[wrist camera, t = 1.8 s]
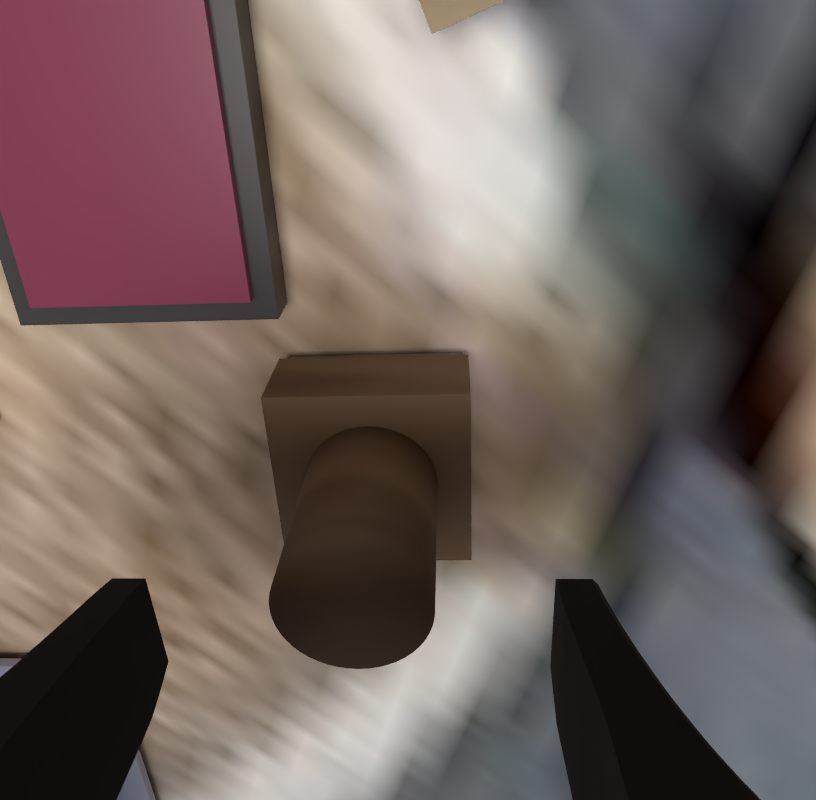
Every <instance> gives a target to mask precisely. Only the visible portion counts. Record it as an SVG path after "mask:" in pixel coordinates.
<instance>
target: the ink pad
mask: <svg viewBox="0 0 816 800" xmlns="http://www.w3.org/2000/svg"><path fill="white" fill-rule="evenodd" d="M0 260H1V263H2V267H3V270H4V273H5V276H6V279H7V282H8V286H9V289H10V292H11V295H12V298H13V302H14V305H15V308H16V311H17V314H18V318H19V321H20V324H21V325H53V324H93V323H133V322H173V321H213V320H253V319H279V317H280V315H281V313H282V311H283V309H284V308H285V306H286V304H287V300H286V292H285V284H284V277H283V269H282V261H281V253H280V246H279V238H278V230H277V223H276V215H275V207H274V200H273V192H272V184H271V177H270V169H269V161H268V154H267V146H266V138H265V131H264V123H263V115H262V108H261V100H260V92H259V85H258V77H257V69H256V62H255V54H254V46H253V39H252V31H251V23H250V15H249V8H248V0H0Z"/></svg>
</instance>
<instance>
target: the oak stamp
mask: <svg viewBox="0 0 816 800" xmlns="http://www.w3.org/2000/svg"><path fill="white" fill-rule="evenodd" d="M502 1H504V0H420V3H421V6H422V8H423V11H424V14H425V17H426V20H427V22H428V25H429V28H430V31H431V33H432V34H433V33H435V32H437V31H439V30H441V29H444V28H446V27H448V26H450V25H452V24H454V23H457V22H459V21H461V20H463V19H465V18H467V17H470V16H472V15H474V14H476V13H478V12H480V11H483V10H485V9H487V8H489V7H491V6H493V5H496V4H498V3H500V2H502Z"/></svg>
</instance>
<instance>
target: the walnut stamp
mask: <svg viewBox="0 0 816 800" xmlns="http://www.w3.org/2000/svg"><path fill="white" fill-rule="evenodd" d="M261 400H262V406H263V413H264V419H265V426H266V432H267V438H268V445H269V451H270V457H271V464H272V470H273V477H274V483H275V489H276V496H277V502H278V509H279V515H280V521H281V528H282V534H283V540H284V547H283V550H282V553H281V557H280V560H279V563H278V566H277V570H276V573H275V576H274V579H273V583H272V586H271V590H270V595H269V607H270V612H271V616H272V619H273V621H274V624H275V626H276V627H277V629H278V630H279V632H280V633H281V635H282V636H283V637H284V638H285V639H286V640H287V641H288V642H289V643H290V644H291V645H292V646H293V647H295V648H296V649H297V650H299V651H300V652H302V653H303V654H305V655H307V656H308V657H310V658H313V659H315V660H317V661H320V662H322V663H325V664H329V665H333V666H337V667H343V668H354V669H364V668H374V667H380V666H384V665H388V664H391V663H394V662H397V661H399V660H401V659H403V658H405V657H406V656H408V655H409V654H411V653H413V652H414V651H415V650H416V649H417V648H418V647H420V645H421V644H422V643H423V642H424V641H425V639H426V638H427V636H428V635H429V633H430V631H431V628H432V626H433V622H434V617H435V582H436V560H471V411H470V378H469V360H468V355H462V353H418V354H369V355H321V356H290V358H288V359H279V361H278V364H277V366H276V368H275V370H274V372H273V374H272V376H271V378H270V380H269V382H268V384H267V387H266V389H265V391H264V393H263V395H262V397H261Z"/></svg>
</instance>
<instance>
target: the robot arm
mask: <svg viewBox="0 0 816 800" xmlns="http://www.w3.org/2000/svg"><path fill="white" fill-rule="evenodd" d="M167 665H168V658H167V655H166V651H165V648H164V644H163V640H162V637H161V633H160V630H159V626H158V623H157V619H156V615H155V612H154V608H153V605H152V601H151V597H150V594H149V590H148V587H147V583H146V580H145V579H111V580H110V581H109V582H108V583H106V584H105V585H104V586H103V587H102V588H100V589H99V590H98V591H97V592H96V593H95V594H94V595H93V596H91V597H90V598H89V599H88V600H87V601H86V602H85V603H84V604H83V605H81V606H80V607H79V608H78V609H77V610H76V611H75V612H74V613H73V614H72V615H70V616H69V617H68V618H67V619H66V620H65V621H64V622H63V623H62V624H60V625H59V626H58V627H57V628H56V629H55V630H54V631H53V632H52V633H50V634H49V635H48V636H47V637H46V638H45V639H44V640H43V641H41V642H40V643H39V644H38V645H37V646H36V647H35V648H33V649H32V650H31V651H30V652H29V653H28V654H27V655H26V656H24V657H23V658H0V800H156V799H155V796H154V793H153V790H152V787H151V784H150V781H149V778H148V775H147V772H146V769H145V766H144V763H143V760H142V756H141V753H140V750H139V747H140V745H141V743H142V740H143V738H144V736H145V733H146V731H147V728H148V726H149V724H150V721H151V719H152V716H153V713H154V710H155V706H156V703H157V700H158V697H159V693H160V690H161V686H162V683H163V679H164V675H165V672H166V668H167ZM551 674H552V684H553V694H554V703H555V712H556V721H557V727H558V732H559V737H560V742H561V746H562V751H563V756H564V760H565V765H566V770H567V775H568V779H569V784H570V788H571V793H572V798H573V800H760V799H759V798H758V797H757V795H756V794H755V793H754V792H753V791H752V790H751V789H750V788H749V787H748V786H747V785H746V784H745V783H744V782H743V781H742V780H741V779H740V778H739V777H738V776H737V775H736V774H735V772H734V771H733V770H732V769H731V768H730V767H729V766H728V765H727V764H726V763H725V761H724V760H723V759H722V758H721V757H720V756H719V755H718V754H717V753H716V751H715V750H714V749H713V748H712V747H711V746H710V744H709V743H708V742H707V741H706V740H705V739H704V737H703V736H702V735H701V734H700V733H699V731H698V730H697V729H696V728H695V727H694V725H693V724H692V723H691V722H690V720H689V719H688V718H687V717H686V715H685V714H684V713H683V712H682V710H681V709H680V708H679V707H678V705H677V704H676V703H675V701H674V700H673V699H672V698H671V696H670V695H669V694H668V692H667V691H666V690H665V688H664V687H663V686H662V684H661V683H660V681H659V680H658V679H657V677H656V676H655V674H654V673H653V672H652V670H651V669H650V667H649V666H648V664H647V663H646V662H645V660H644V659H643V657H642V656H641V655H640V653H639V652H638V650H637V649H636V647H635V646H634V644H633V643H632V641H631V640H630V638H629V636H628V635H627V633H626V632H625V630H624V629H623V627H622V625H621V624H620V622H619V621H618V619H617V617H616V616H615V614H614V612H613V611H612V609H611V607H610V605H609V604H608V602H607V600H606V598H605V597H604V595H603V593H602V591H601V589H600V587H599V585H598V584H597V583H596V582H595V581H594V580H593V579H556V586H555V602H554V618H553V634H552V650H551Z"/></svg>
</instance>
